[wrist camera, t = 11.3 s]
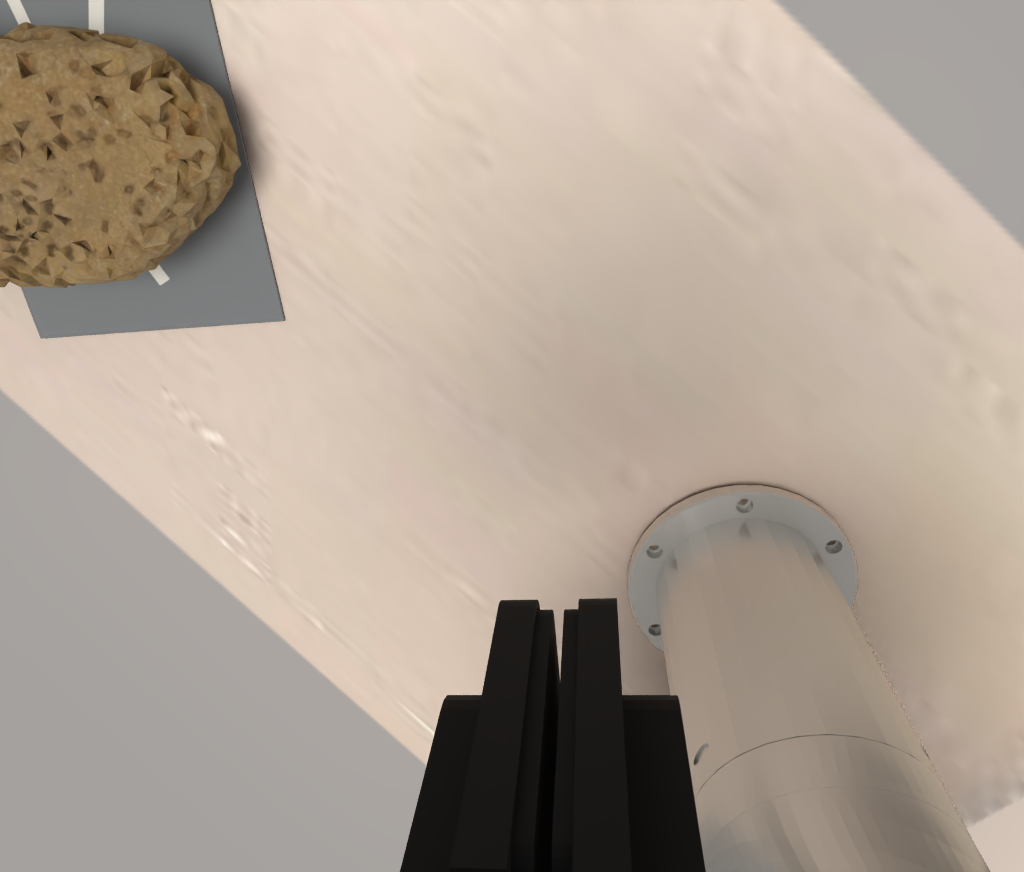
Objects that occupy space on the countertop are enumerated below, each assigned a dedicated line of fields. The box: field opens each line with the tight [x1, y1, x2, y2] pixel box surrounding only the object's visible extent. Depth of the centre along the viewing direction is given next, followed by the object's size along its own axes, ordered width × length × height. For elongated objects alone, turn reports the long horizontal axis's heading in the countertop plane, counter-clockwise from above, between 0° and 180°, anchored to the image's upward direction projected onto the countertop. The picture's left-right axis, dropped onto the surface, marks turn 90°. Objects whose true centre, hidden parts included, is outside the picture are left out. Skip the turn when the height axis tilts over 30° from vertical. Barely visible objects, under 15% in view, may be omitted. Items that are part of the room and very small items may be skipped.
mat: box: [0, 0, 285, 338], centre depth 33 cm, size 24×14×1 cm, turn 6°
